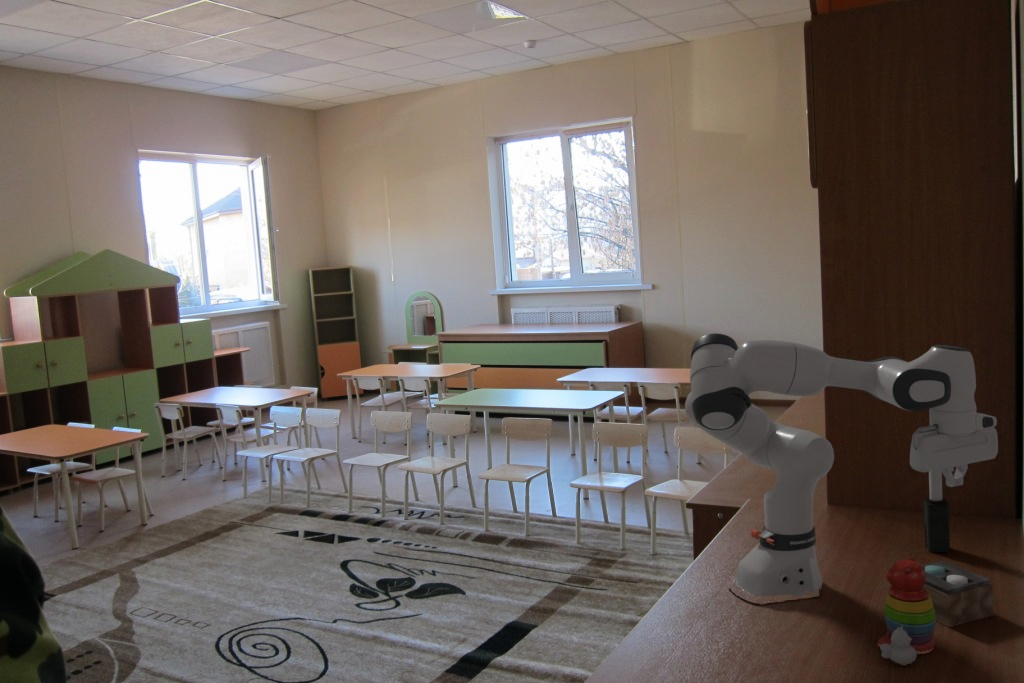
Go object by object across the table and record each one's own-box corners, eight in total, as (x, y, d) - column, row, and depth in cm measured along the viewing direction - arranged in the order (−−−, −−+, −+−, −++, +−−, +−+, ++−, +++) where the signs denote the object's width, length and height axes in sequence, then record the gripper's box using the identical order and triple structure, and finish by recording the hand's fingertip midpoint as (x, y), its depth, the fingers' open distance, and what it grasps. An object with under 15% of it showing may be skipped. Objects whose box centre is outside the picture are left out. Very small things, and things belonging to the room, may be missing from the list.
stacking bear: (890, 628, 181) (887, 547, 179) (942, 639, 175) (939, 555, 173) (874, 649, 173) (871, 565, 171) (928, 662, 167) (925, 574, 165)
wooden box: (948, 627, 180) (947, 591, 179) (902, 604, 192) (901, 570, 191) (993, 615, 183) (992, 579, 182) (945, 593, 195) (944, 559, 194)
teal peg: (935, 608, 188) (934, 573, 187) (921, 601, 192) (920, 567, 191) (950, 604, 189) (949, 569, 188) (936, 597, 193) (935, 563, 192)
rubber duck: (920, 670, 164) (919, 630, 163) (884, 670, 165) (882, 630, 164) (912, 656, 169) (911, 618, 168) (877, 656, 171) (875, 618, 170)
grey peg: (958, 619, 182) (957, 583, 181) (943, 612, 186) (942, 577, 185) (972, 615, 183) (971, 579, 182) (958, 608, 187) (957, 573, 186)
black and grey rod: (951, 552, 218) (948, 457, 215) (929, 553, 219) (926, 457, 216) (945, 545, 223) (942, 451, 220) (924, 545, 224) (921, 452, 221)
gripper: (924, 431, 174) (926, 497, 175) (1003, 417, 179) (1004, 481, 181) (901, 425, 180) (903, 489, 181) (978, 412, 185) (979, 474, 187)
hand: (954, 485), depth 181 cm, fingers closed
